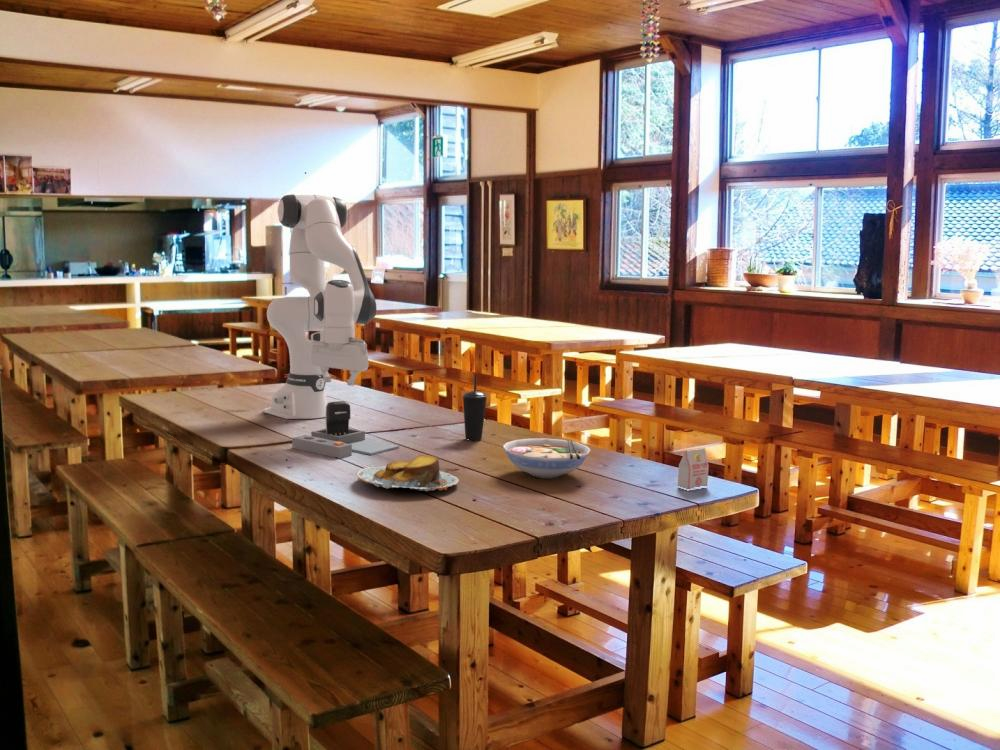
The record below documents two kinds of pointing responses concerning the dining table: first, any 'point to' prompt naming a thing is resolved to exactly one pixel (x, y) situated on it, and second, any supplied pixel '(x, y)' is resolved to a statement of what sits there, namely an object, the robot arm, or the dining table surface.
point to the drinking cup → (474, 412)
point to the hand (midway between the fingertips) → (339, 383)
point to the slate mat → (372, 447)
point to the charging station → (328, 442)
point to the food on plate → (409, 474)
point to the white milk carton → (693, 469)
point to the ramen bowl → (546, 456)
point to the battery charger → (337, 418)
